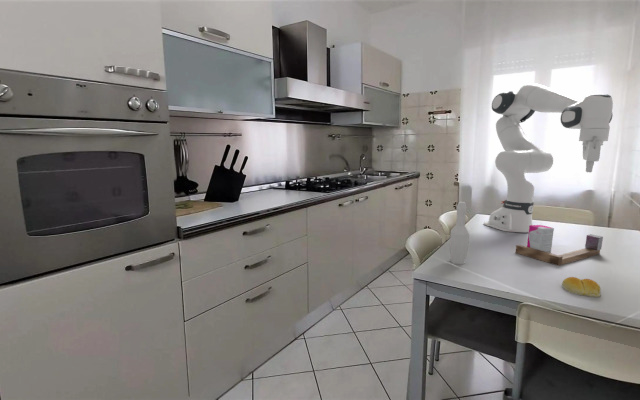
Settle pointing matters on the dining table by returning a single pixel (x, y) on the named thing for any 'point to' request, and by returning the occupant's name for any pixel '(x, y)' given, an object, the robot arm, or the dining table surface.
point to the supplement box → (540, 237)
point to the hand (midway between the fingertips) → (588, 172)
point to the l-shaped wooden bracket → (590, 249)
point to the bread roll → (581, 287)
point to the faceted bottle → (459, 236)
